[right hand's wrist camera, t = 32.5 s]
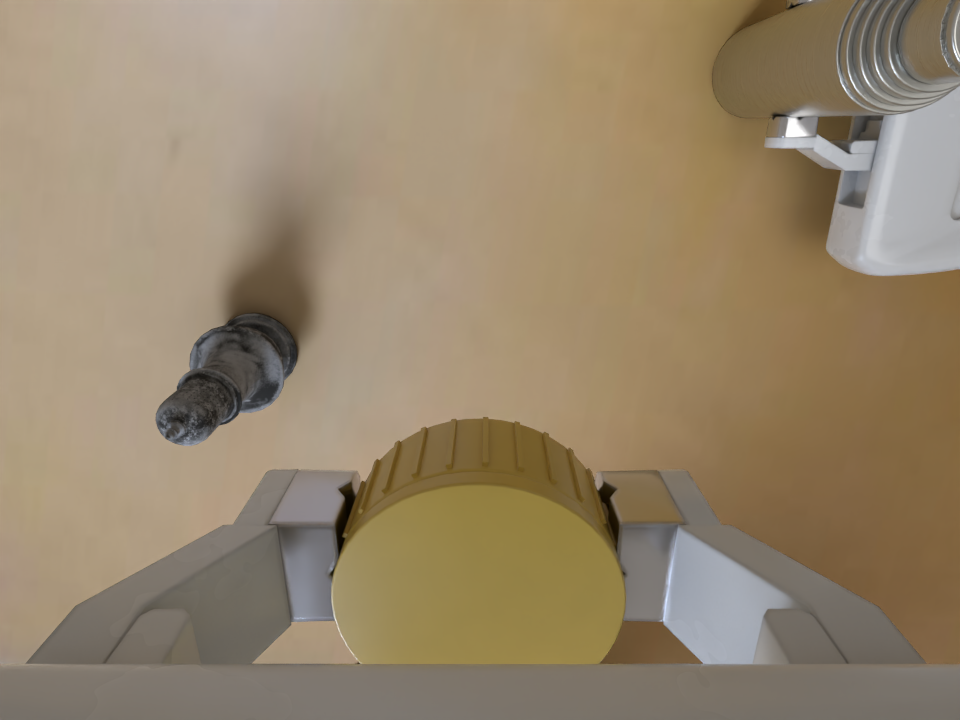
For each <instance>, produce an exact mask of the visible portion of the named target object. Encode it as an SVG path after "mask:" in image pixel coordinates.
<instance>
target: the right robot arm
mask: <svg viewBox="0 0 960 720" xmlns="http://www.w3.org/2000/svg"><path fill="white" fill-rule="evenodd" d="M360 484H361V482H360V475H359V473H358V471H341V470H298V469H285V470H270V471H268V472H267V473H266V474H265V475H264V477H263V478H262V480H261V482H260V483H259V485H258V486H257V488H256V489H255V491H254V492H253V494H252V495H251V497H250V499H249V500H248V502H247V503H246V505H245V506H244V508H243V509H242V511H241V513H240V514H239V516H238V517H237V519H236V520H235V522H234V523H233V525H223V526H221V527H219V528H217V529H215V530H213V531H212V532H210V533H208V534H206V535H204V536H203V537H201V538H199V539H197V540H195V541H193V542H192V543H190V544H188V545H186V546H184V547H182V548H181V549H179V550H177V551H175V552H173V553H171V554H170V555H168V556H166V557H164V558H162V559H160V560H159V561H157V562H155V563H153V564H151V565H150V566H148V567H146V568H144V569H142V570H140V571H139V572H137V573H135V574H133V575H131V576H129V577H128V578H126V579H124V580H122V581H120V582H118V583H117V584H115V585H113V586H111V587H109V588H108V589H106V590H104V591H102V592H100V593H98V594H97V595H95V596H93V597H91V598H89V599H87V600H86V601H84V602H82V603H80V604H78V605H76V606H75V607H74V608H73V609H72V611H71V612H70V613H69V614H68V615H67V616H66V618H65V619H64V620H63V621H62V622H61V623H60V624H59V626H58V627H57V628H56V629H55V630H54V631H53V633H52V634H51V635H50V636H49V637H48V638H47V639H46V641H45V642H44V643H43V644H42V645H41V646H40V648H39V649H38V650H37V651H36V652H35V653H34V654H33V656H32V657H31V658H30V659H29V660H28V661H27V662H26V664H0V720H960V664H927V663H926V662H925V661H924V660H923V659H922V657H921V656H920V655H919V654H918V653H917V651H916V650H915V649H914V648H913V647H912V646H911V644H910V643H909V642H908V641H907V640H906V638H905V637H904V636H903V635H902V634H901V633H900V631H899V630H898V629H897V628H896V627H895V625H894V624H893V623H892V622H891V621H890V620H889V618H888V617H887V616H886V615H885V614H884V612H883V611H882V610H881V609H880V608H879V607H878V606H876V605H874V604H873V603H871V602H869V601H867V600H865V599H864V598H862V597H860V596H858V595H856V594H855V593H853V592H851V591H849V590H847V589H846V588H844V587H842V586H840V585H838V584H837V583H835V582H833V581H831V580H829V579H827V578H826V577H824V576H822V575H820V574H818V573H817V572H815V571H813V570H811V569H809V568H808V567H806V566H804V565H802V564H800V563H799V562H797V561H795V560H793V559H791V558H790V557H788V556H786V555H784V554H782V553H781V552H779V551H777V550H775V549H773V548H772V547H770V546H768V545H766V544H764V543H763V542H761V541H759V540H757V539H755V538H754V537H752V536H750V535H748V534H746V533H744V532H743V531H741V530H739V529H737V528H735V527H734V526H732V525H722V524H721V523H720V521H719V520H718V518H717V516H716V515H715V513H714V512H713V510H712V509H711V507H710V505H709V504H708V502H707V501H706V499H705V498H704V496H703V494H702V493H701V491H700V490H699V488H698V487H697V485H696V483H695V482H694V480H693V479H692V477H691V476H690V474H689V473H688V471H686V470H684V469H672V470H641V471H601V472H597V473H596V478H595V485H596V488H597V490H598V492H599V494H600V497H601V501H602V502H603V503H605V504H606V505H607V508H608V511H609V512H608V522H609V525H610V528H611V531H612V534H613V537H614V540H615V543H616V553H617V555H618V558H619V562H620V565H621V569H622V571H623V576H624V579H625V587H626V609H625V615H624V619H623V621H653V622H664V625H665V626H666V627H667V628H668V629H669V630H670V631H671V632H672V633H673V634H674V635H675V636H676V637H677V638H678V639H679V640H680V641H681V642H682V643H683V644H684V645H685V646H686V647H687V648H688V649H689V650H690V651H691V652H692V653H693V654H694V655H695V656H696V657H697V658H698V659H700V660H701V661H702V662H703V663H704V664H251V663H252V662H253V661H254V660H255V659H256V658H257V657H258V656H259V655H260V654H261V653H263V652H264V651H265V650H266V649H267V648H268V647H269V646H270V645H271V644H272V643H273V642H274V641H275V640H276V639H277V638H278V637H279V636H280V635H281V634H282V633H283V632H284V631H285V630H286V629H287V628H288V627H289V626H290V625H291V622H302V621H335V619H334V615H333V609H332V603H331V585H332V579H333V574H334V570H335V567H336V564H337V561H338V558H339V555H340V552H341V550H342V547H343V544H344V541H345V538H344V537H342V535H343V532H344V529H345V526H346V523H347V521H348V518H349V515H350V512H351V509H352V506H353V504H354V501H355V498H356V495H357V492H358V489H359V487H360Z"/></svg>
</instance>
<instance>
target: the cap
mask: <svg viewBox="0 0 960 720" xmlns="http://www.w3.org/2000/svg"><path fill="white" fill-rule="evenodd" d="M608 512H609V511H608V508H607V505H606V504H605V503H603V502H602V501H601V497H600V494H599V492H598V490H597V488H596V485H595V481H594V478H593V475H592V471H591V470H590V468H588V469H586V468H585V467H584V466H583V465H582V463H581V462H580V461H579V460H578V459H577V458H576V457H575V456H574V452H573V450H572V449H571V448H569V449H568V450H567V449H566V448H565V447H564V446H563V445H561V444H560V443H558V442H557V441H555V440H553V439H552V438H550V437H549V434H548V433H546V432H544V433H541V432H539V431H536V430H534V429H532V428H529V427H526V426H523V425H520V422H516V421H515V422H514V423H512V422H507V421H502V420H494V419H488V417H483V419H463V420H456V419H452V420H451V421H450V422H446V423H442V424H438V425H435V426H432V427H429V428H426V427H423V428H421V431H419V432H417V433H415V434H414V435H412V436H410V437H408V438H406V439H405V440H403V441H402V442H400V441H397V442H396V443H395V445H394V448H392V449H391V450H390V451H389V452H388V453H387V454H386V455H385V456H384V457H383V458H382V459H381V460H378V459H377V460H376V461H375V462H374V465H373V468H372V471H371V473H370V474H369V476H368V478H367V480H366V482H364V481H362V482H361V484H360V487H359V489H358V492H357V495H356V498H355V501H354V504H353V506H352V509H351V512H350V515H349V518H348V521H347V523H346V526H345V529H344V532H343V535H342V537H344V538H345V541H344V544H343V547H342V550H341V552H340V555H339V558H338V561H337V564H336V567H335V570H334V574H333V579H332V585H331V603H332V609H333V615H334V619H335V622H336V625H337V628H338V631H339V633H340V635H341V637H342V639H343V641H344V642H345V644H346V646H347V647H348V649H349V650H350V652H351V653H352V654H353V656H354V657H355V658H356V659H357V660H358V661H359V662H360V664H599V663H600V662H601V661H602V660H603V659H604V657H605V656H606V655H607V654H608V652H609V651H610V649H611V647H612V646H613V644H614V642H615V641H616V639H617V636H618V634H619V631H620V629H621V627H622V623H623V619H624V615H625V609H626V587H625V579H624V576H623V571H622V569H621V565H620V562H619V558H618V555H617V553H616V543H615V540H614V537H613V534H612V531H611V528H610V525H609V522H608Z"/></svg>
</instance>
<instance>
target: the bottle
mask: <svg viewBox="0 0 960 720" xmlns="http://www.w3.org/2000/svg"><path fill="white" fill-rule="evenodd" d="M712 84H713V90H714V93H715V96H716V98H717V100H718V102H719V103H720V105H721V106H722V107H723V108H724V109H725V110H726V111H728V112H729V113H730V114H733V115H735V116H738V117H741V118H769V117H785V116H790V117H824V116H868V115H897V114H904V113H908V112H912V111H915V110H917V109H921V108H923V107H926V106H928V105H931V104H933V103H935V102H937V101H939V100H940V99H942V98H943V97H945V96H946V95H948V94H949V93H950V92H952V91H953V90H955V89H956V88H957V87H959V86H960V0H811V1H809V2H806V3H804V4H801V5H799V6H796V7H794V8H792V9H789V10H787V11H784V12H782V13H779V14H777V15H775V16H772V17H770V18H767V19H765V20H762V21H760V22H757V23H755V24H753V25H750V26H748V27H745V28H743V29H742V30H740V31H738V32H737V33H736V34H734V35H733V36H732V37H731V38H730V39H729V40H728V41H727V42H726V43H725V44H724V46H723V47H722V49H721V50H720V52H719V54H718V56H717V58H716V61H715V64H714V68H713V74H712Z"/></svg>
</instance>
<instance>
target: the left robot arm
mask: <svg viewBox="0 0 960 720" xmlns="http://www.w3.org/2000/svg"><path fill="white" fill-rule="evenodd" d="M809 1H811V0H787V3H786V9H792V8H794V7H796V6H799V5H801V4H804V3H806V2H809ZM818 119H819V117H790V116H785V117H769V122H768V128H767V134H766V138H765V146H764V147H766V148H796V150H798V151H799V152H801V153H802V154H804V155H805V156H807V157H808V158H810V159H811V160H813V161H814V162H816V163H817V164H819V165H820V166H822V167H823V168H828V169H836V170H841V174H840V179H839V184H838V189H837V194H836V199H835V204H834V209H833V214H832V219H831V224H830V229H829V233H828V238H827V243H826V250H827V252H828V253H829V254H830V255H831V256H832V257H833V258H834V259H835V260H836V261H837V262H838V263H839V264H841V265H842V266H844V267H846V268H848V269H851V270H853V271H856V272H859V273H863V274H867V275H873V276H899V275H915V274H926V273H935V272H943V271H950V270H957V269H960V86H959V87H957V88H956V89H955V90H953V91H952V92H950V93H949V94H948V95H946V96H945V97H943V98H942V99H940V100H939V101H937V102H935V103H933V104H931V105H928V106H926V107H923V108H921V109H917V110H915V111H912V112H908V113H904V114H897V115H868V116H852V120H851V125H850V130H849V135H848V139H847V140H831V141H830V142H829V141H828V140H826V139H824V138H823V137H821V136H820V135H818V134H816V131H817V125H818Z"/></svg>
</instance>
